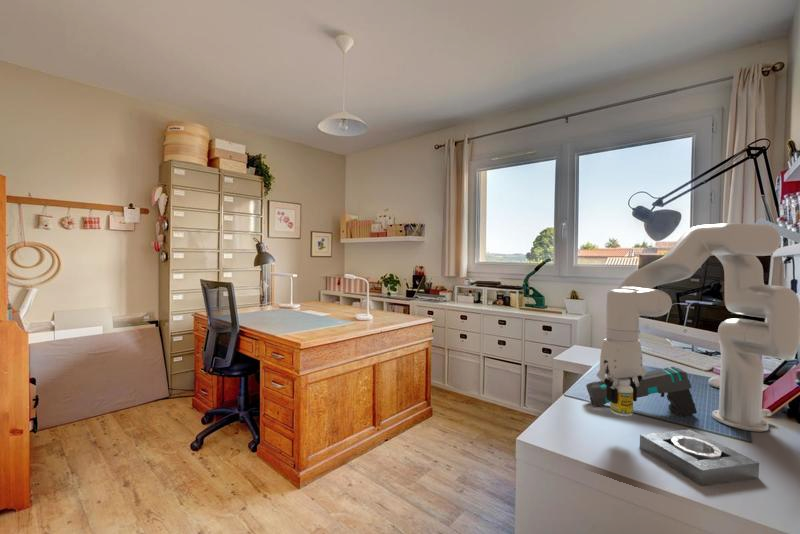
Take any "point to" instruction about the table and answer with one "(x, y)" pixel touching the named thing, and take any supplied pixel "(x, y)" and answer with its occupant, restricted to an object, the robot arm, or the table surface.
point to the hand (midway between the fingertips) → (621, 399)
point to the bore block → (699, 457)
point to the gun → (655, 389)
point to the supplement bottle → (623, 398)
